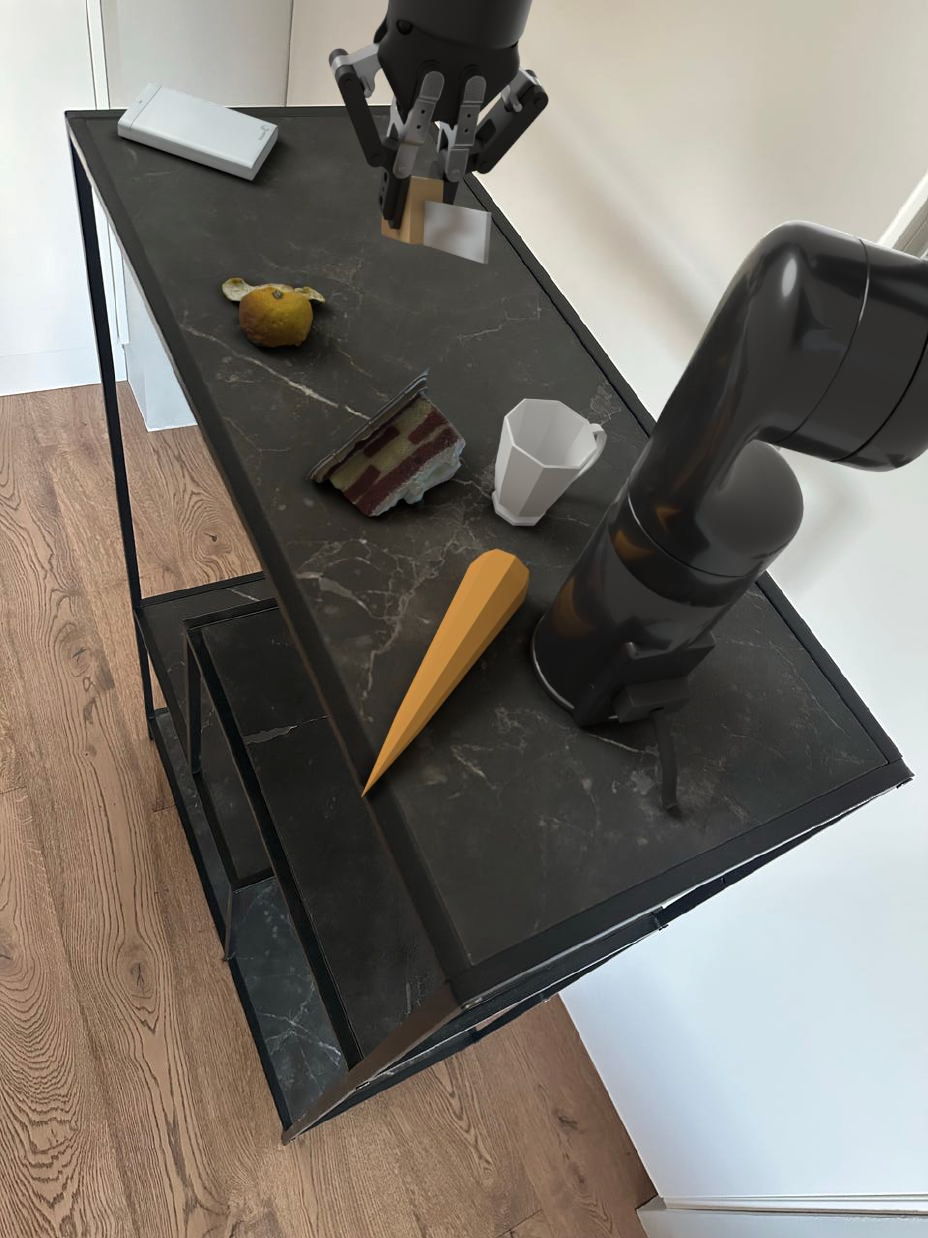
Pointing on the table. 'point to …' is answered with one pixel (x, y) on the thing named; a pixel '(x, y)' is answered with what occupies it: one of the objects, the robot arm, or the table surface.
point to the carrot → (457, 645)
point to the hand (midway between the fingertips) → (410, 221)
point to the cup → (541, 458)
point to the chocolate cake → (395, 453)
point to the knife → (441, 223)
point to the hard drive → (198, 130)
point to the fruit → (273, 311)
